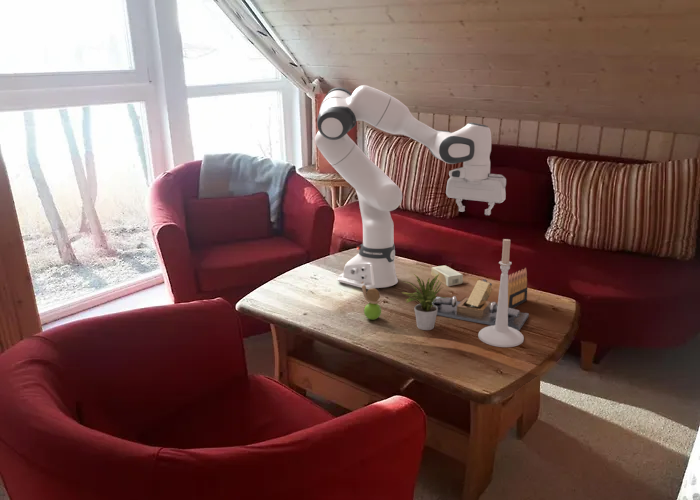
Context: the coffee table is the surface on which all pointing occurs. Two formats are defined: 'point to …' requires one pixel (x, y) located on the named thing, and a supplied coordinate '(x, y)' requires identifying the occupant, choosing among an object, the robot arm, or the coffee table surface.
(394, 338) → the coffee table surface
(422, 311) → the house plant
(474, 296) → the pale yellow block
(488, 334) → the candlestick
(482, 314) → the coupler station
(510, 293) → the ammunition clip
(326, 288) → the coffee table surface
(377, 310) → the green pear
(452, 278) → the skincare box
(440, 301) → the shaft left
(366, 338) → the coffee table surface
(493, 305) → the shaft right
